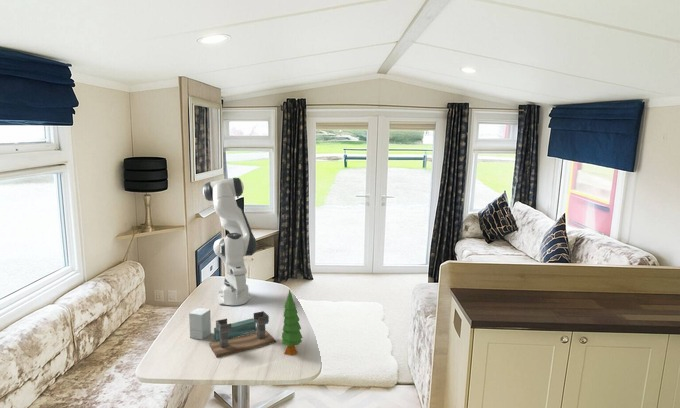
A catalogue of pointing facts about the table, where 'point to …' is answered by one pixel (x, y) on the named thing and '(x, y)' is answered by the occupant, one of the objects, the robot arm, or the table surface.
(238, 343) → the bracket stand
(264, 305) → the table surface
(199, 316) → the supplement box
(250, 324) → the teal rail
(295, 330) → the decorative tree
